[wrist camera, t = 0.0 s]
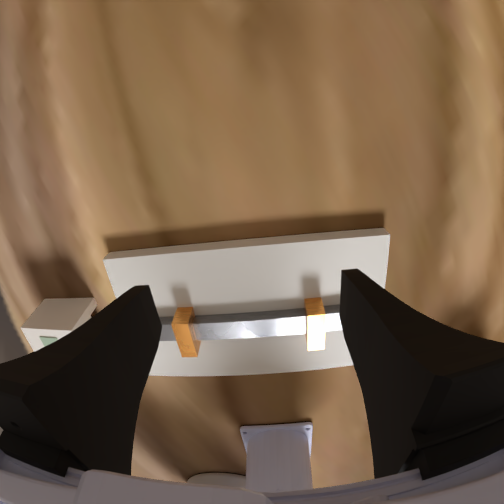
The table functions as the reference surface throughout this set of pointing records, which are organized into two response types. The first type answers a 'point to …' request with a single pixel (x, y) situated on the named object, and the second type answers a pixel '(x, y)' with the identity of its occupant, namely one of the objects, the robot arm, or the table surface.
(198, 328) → the din rail
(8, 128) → the table surface
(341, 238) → the rail board
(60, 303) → the block
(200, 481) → the cylinder vase
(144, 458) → the table surface
